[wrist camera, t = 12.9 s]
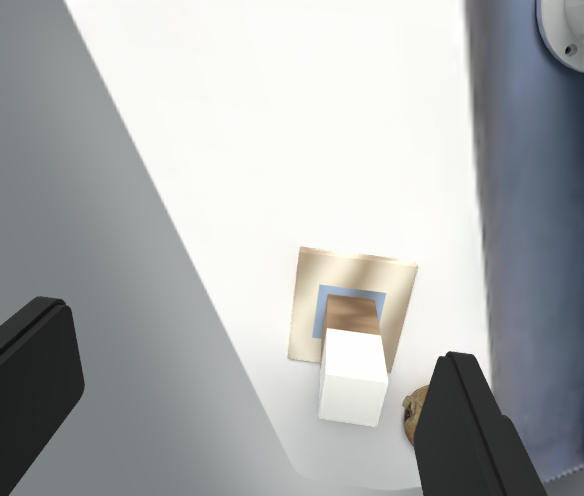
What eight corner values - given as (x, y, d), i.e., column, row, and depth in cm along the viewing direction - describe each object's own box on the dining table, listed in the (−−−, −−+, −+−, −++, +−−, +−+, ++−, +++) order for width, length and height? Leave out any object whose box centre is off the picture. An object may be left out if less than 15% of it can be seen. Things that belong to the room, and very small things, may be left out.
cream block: (381, 335, 37) (388, 383, 32) (371, 376, 40) (376, 427, 34) (327, 328, 38) (325, 374, 32) (320, 369, 40) (317, 418, 34)
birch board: (415, 261, 42) (418, 266, 41) (389, 365, 48) (390, 372, 47) (300, 246, 42) (299, 251, 41) (288, 351, 49) (287, 358, 47)
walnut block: (374, 299, 43) (380, 335, 37) (366, 337, 45) (371, 376, 40) (327, 293, 43) (326, 328, 38) (321, 331, 45) (320, 369, 40)
